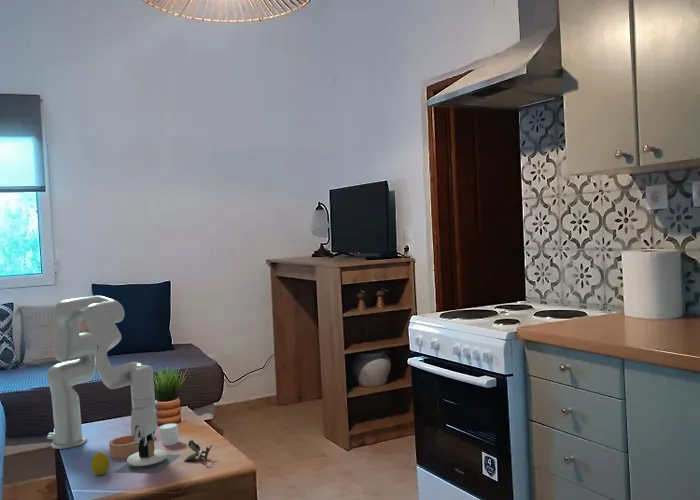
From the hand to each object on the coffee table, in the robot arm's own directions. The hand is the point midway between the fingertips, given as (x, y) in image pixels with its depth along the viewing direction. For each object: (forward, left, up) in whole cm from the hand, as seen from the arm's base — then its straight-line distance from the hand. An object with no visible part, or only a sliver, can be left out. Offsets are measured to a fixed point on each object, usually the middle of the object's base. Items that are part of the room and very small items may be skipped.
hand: (146, 453), depth 219 cm
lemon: (-11, -10, -4) cm, 16 cm away
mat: (0, 0, -4) cm, 4 cm away
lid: (0, 0, -2) cm, 2 cm away
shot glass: (-2, +20, -4) cm, 20 cm away
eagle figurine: (+16, +4, -4) cm, 17 cm away
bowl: (-14, +10, -4) cm, 17 cm away
